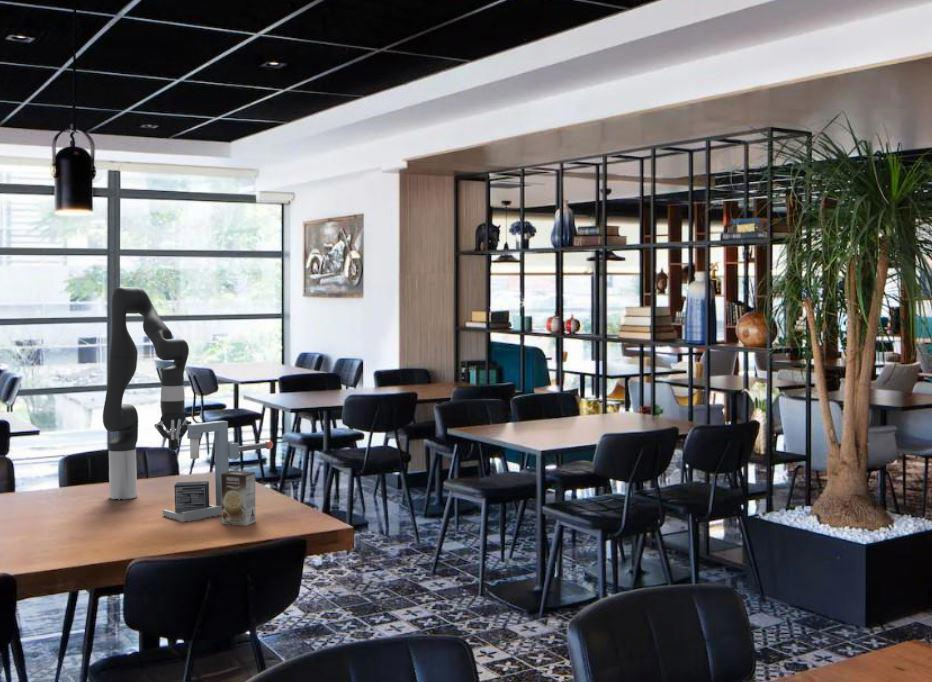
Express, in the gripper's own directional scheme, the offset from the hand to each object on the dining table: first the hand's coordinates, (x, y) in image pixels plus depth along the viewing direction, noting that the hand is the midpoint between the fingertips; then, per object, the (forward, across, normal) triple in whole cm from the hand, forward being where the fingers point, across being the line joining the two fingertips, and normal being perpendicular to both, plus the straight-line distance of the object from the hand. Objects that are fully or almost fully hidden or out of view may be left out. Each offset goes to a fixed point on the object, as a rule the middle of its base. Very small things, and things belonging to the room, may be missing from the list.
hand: (173, 450), depth 342 cm
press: (+20, -4, +12) cm, 24 cm away
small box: (+20, -1, +10) cm, 23 cm away
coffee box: (+20, -4, +33) cm, 39 cm away
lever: (+1, -21, +13) cm, 25 cm away
